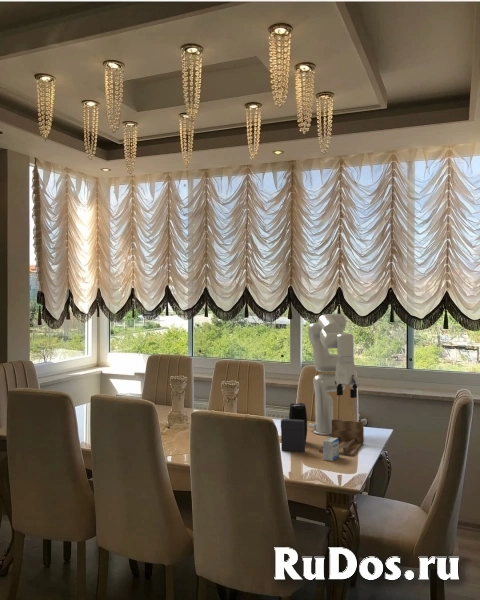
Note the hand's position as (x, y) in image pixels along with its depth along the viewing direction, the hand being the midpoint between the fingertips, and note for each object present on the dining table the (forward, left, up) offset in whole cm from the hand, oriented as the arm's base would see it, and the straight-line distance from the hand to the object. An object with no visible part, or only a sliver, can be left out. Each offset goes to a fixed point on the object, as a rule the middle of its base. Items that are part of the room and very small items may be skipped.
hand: (346, 396), depth 250 cm
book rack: (-5, +8, -27) cm, 28 cm away
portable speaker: (-28, +9, -27) cm, 40 cm away
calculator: (-25, -6, -27) cm, 37 cm away
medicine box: (-5, -10, -27) cm, 29 cm away
